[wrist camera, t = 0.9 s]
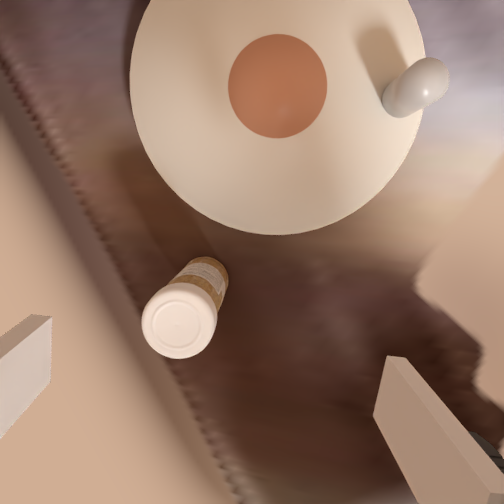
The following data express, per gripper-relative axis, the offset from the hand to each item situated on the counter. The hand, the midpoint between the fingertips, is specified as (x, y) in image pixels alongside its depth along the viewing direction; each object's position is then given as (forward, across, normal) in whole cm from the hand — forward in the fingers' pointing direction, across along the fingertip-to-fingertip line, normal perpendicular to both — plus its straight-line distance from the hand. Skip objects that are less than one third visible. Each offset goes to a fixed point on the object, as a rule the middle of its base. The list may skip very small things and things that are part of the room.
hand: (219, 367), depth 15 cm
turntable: (+23, -2, -14) cm, 27 cm away
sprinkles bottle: (+22, +2, +3) cm, 22 cm away
